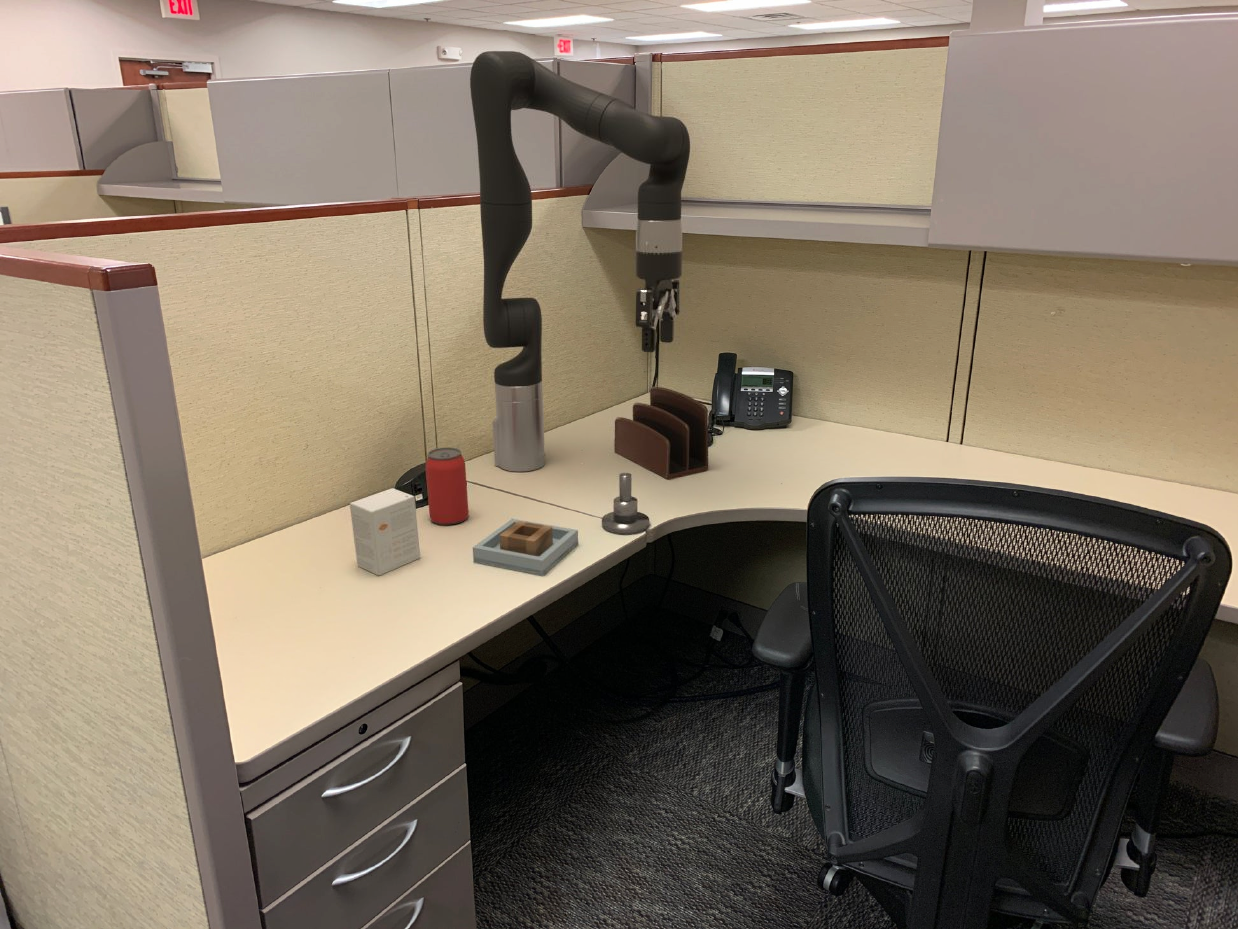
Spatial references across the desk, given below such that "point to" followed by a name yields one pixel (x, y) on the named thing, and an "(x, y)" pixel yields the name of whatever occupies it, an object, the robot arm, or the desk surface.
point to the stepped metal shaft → (625, 512)
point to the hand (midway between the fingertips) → (658, 346)
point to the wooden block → (527, 538)
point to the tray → (538, 565)
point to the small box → (385, 531)
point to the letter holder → (665, 434)
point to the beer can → (446, 486)
